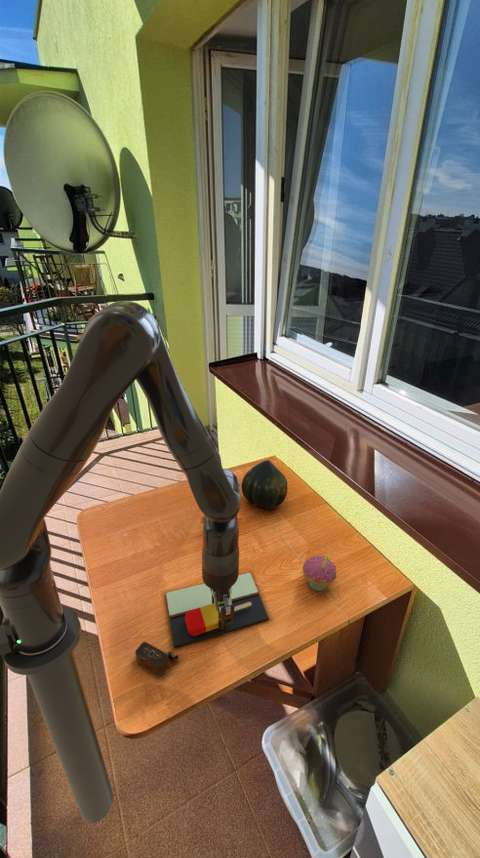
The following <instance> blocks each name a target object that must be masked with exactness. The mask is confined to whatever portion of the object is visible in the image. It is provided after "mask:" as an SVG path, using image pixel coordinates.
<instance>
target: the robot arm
mask: <svg viewBox="0 0 480 858" xmlns="http://www.w3.org/2000/svg"><path fill="white" fill-rule="evenodd" d="M156 319H157V318H155V316H154V315H153V314H152V312H150V310H149V309H148V308H146V307H145V306H143V305H141V304H140V303H137V302H134V301H131V300H119V301H115V302H112V303H110V304H109V305H106V306H105V307H103V308H102V309H100V310H98V311H97V312H96V313H94V314H93V315H92V316H91V317H90V319H88V322H87V323H86V324H85V327H84V329H83V330H82V331H83V332H82V333H81V336H80V339H79V342H78V345H77V347H76V350H75V352H74V355H73V357H72V359H71V362H70V364H69V367H68V369H67V372H66V373H65V376H64V378H63V380H62V382H61V383H60V385H59V387H58V388H57V390H56V391H55V392H54V393H53V395H52V396H51V398H50V399H49V400H48V401H47V402H46V404H45V405H44V406H43V408H42V410H41V411H40V413H39V415H37V417H36V419H35V420H34V422H33V424H32V425H31V426H30V428H29V430H28V432H27V433H26V436H25V437H24V439H23V441H22V443H21V445H20V447H19V449H18V451H17V453H16V455H15V457H14V459H13V461H12V463H11V465H10V468H9V470H8V472H7V473H6V476H5V479H4V481H3V483H2V486H1V488H0V608H1V611H2V613H3V618H2V622H1V624H0V656H2V655H3V654H7V653H11V652H12V651H13V654H14V655H17V654H21V655H23V656H27V657H34V656H39V655H42V654H45V653H47V652H49V651H50V650H52V649H54V648H55V647H56V646H57V645H58V644H59V643H60V642H61V641H62V640H63V638H64V637H65V635H66V633H67V628H68V626H67V622H66V619H65V616H64V613H63V609H62V606H63V605H62V602H61V598H60V594H59V591H58V588H57V583H56V580H55V576H54V572H53V568H52V566H51V559H52V546H51V541H50V537H49V530H48V527H47V523H46V520H45V518H46V516H47V515H48V513H50V511H51V510H52V509H53V507H55V506H56V504H57V503H58V502H59V500H60V499H61V498H62V497H63V496H64V494H65V493H66V492H67V490H68V489H69V488H70V486H71V485H72V484H73V482H74V481H75V480H76V479H77V477H78V476H79V475H80V473H81V472H82V470H83V469H84V467H85V466H86V464H87V463H88V461H89V459H90V458H91V456H92V455H93V453H94V451H95V450H96V447H97V446H98V444H99V442H100V440H101V438H102V435H103V433H104V430H105V428H106V425H107V422H108V420H109V417H110V415H111V413H112V411H113V410H114V408H115V406H116V405H117V403H118V402H119V401H120V400H121V398H123V396H124V394H125V393H126V392H127V390H129V388H130V387H131V386H132V384H133V383H134V382H135V381H136V383H137V384H138V386H139V387H140V389H141V391H142V393H143V394H144V396H145V398H146V401H147V402H148V405H149V407H150V409H151V413H152V415H153V418H154V420H155V423H156V426H157V429H158V431H159V433H160V435H161V438H162V440H163V442H164V444H165V446H166V448H167V450H168V451H169V453H170V454H171V456H172V458H173V459H174V461H175V462H176V464H177V466H178V467H179V469H180V470H181V471H182V473H183V474H184V475H185V477H186V480H187V483H188V485H189V489H190V491H191V494H192V495H193V498H194V500H195V503H196V505H197V506H198V508H199V511H200V512H201V513H202V514H203V515H204V516H203V517H204V520H203V525H202V547H201V579H202V581H203V584H205V585H206V586H207V587H209V588H210V591H211V593H212V603H214V604H215V609H216V610H217V611H218V628H219V629H220V630H222V629H226V628H228V626H229V623H232V622H233V617H234V609H235V607H234V605H233V604H232V601H231V594H232V589H231V587H232V586H233V585H234V584H235V583H236V581H237V579H238V575H240V574H239V571H240V570H239V569H240V547H239V542H240V540H239V539H240V538H239V537H240V527H239V517H238V515H239V513H240V510H241V505H242V497H241V483H240V480H239V478H238V477H237V475H236V474H235V472H233V471H232V470H231V469H227V468H224V467H223V463H222V457H221V454H220V452H219V450H218V447H217V446H216V444H215V442H214V441H213V439H212V437H211V435H210V434H209V432H208V430H207V428H206V426H205V424H204V423H203V421H202V419H201V418H200V416H199V414H198V413H197V410H196V409H195V407H194V405H193V404H192V402H191V400H190V398H189V396H188V394H187V392H186V391H185V388H184V386H183V384H182V381H181V380H180V378H179V376H178V373H177V371H176V368H175V367H174V364H173V362H172V359H171V356H170V354H169V351H168V348H167V346H166V342H165V341H164V340H165V339H164V338H163V334H162V332H161V329H160V326H159V323H158V321H157V320H156ZM218 602H223V603H221V604H218Z"/></svg>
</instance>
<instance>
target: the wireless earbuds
mask: <svg viewBox="0 0 480 858" xmlns="http://www.w3.org/2000/svg"><path fill="white" fill-rule="evenodd" d="M134 653H135V660H136V663H137V664H139V665H141V666H142V667H144V668H146V669H147V670H149V671H151V672H152V673H154V674H155V675H157V676H162V675H163V674H164V672H165V671H166V670H167V668H169V661H170V663H173V662H175V661H177V660H178V659H179V658H180V657H179V655H178V654H176V655H175V653H174V652H172V651H169V652H168V653H166V652H165V651H163V650H161V649H159V648H157V647H155V646H153V645H152V644H150V643H148V642H147V641H143V642H142V643H140V645H139V646H138V647H137V649H135V651H134Z"/></svg>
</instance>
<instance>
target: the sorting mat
mask: <svg viewBox="0 0 480 858" xmlns="http://www.w3.org/2000/svg"><path fill="white" fill-rule="evenodd" d="M231 589H232V594H231V601H232V604H233V605H234V607H236V606H239V605H242V604H245V603H248V602H251V603H252V605H251V606H249V607H246V608H243V609H240V610H237V611H234V617H233V622H232V623H230V624H229V626H228V628H226V629H222V630H220V629H219V628H216V629H213V630H211V631H208V632H205V633H202V634H199V635H196V636H191V635H190V634H189V633H188V630H187V626H186V622H185V614H186V613H187V612H188V611H190V610H193V609H197V608H200V607H203V606H206V605H209V604H212V593H211V591H210V588H209V587H207V586H206V585H205V583H201V584H197V585H193V586H188V587H183V588H181V589H176V590H173V591H169V592H165V597H166V603H167V609H168V615H169V616H168V617H169V622H170V628H171V635H172V643H173V648H174V649H176V648H179V647H183V646H185V645H189V644H193V643H196V642H199V641H203V640H207V639H210V638H213V637H216V636H220V635H222V634H226V633H229V632H232V631H236V630H239V629H242V628H246V627H250V626H252V625H257V624H259V623H262V622H266V621H269V620H270V618H269V615H268V613H267V610H266V608H265V605H264V603H263V601H262V597H261V596H260V591H258V588H257V586H256V583H255V581H254V578H253V575H252V573H251V572H246V573H242V574H238V579H237V581H236V583H235V584H234V585H233V586H232V587H231Z"/></svg>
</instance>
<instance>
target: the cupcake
mask: <svg viewBox="0 0 480 858" xmlns="http://www.w3.org/2000/svg"><path fill="white" fill-rule="evenodd" d="M329 557H330V556H329V553H327V554H326V555H325V556H323V555H313V556H309V558H307V559H306V560H305V561H304V563H303V565H302V573H303V577H304V579H305V580H306V581H308V585H309V587H310V588H311V589H313V590H314V591H323V590H326V588H327V587H328V586H329V585H331V584H333V583H334V581H335V580H336V579H337V567H336V565H335V563H334V562H332V560H330V559H329Z"/></svg>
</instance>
